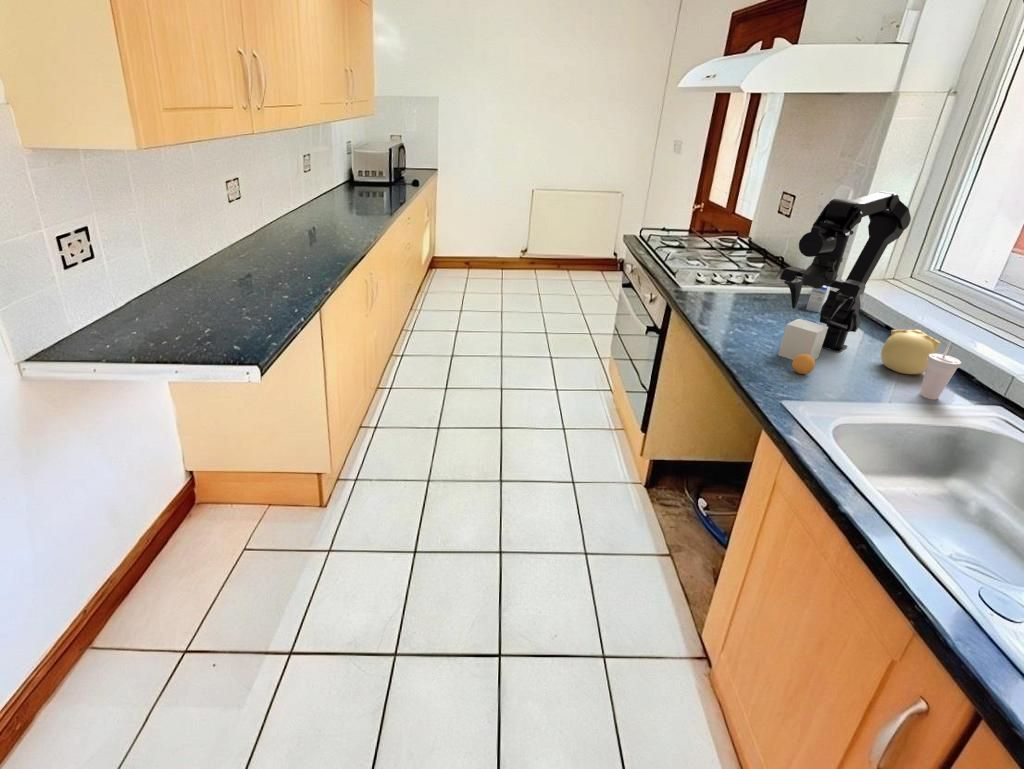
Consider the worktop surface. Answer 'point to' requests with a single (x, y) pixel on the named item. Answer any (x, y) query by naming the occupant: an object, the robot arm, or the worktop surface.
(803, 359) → the ball
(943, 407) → the worktop surface
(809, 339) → the chalk-white cube
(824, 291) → the medicine box
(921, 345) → the pale yellow rounded lump
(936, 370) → the smoothie
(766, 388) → the worktop surface
